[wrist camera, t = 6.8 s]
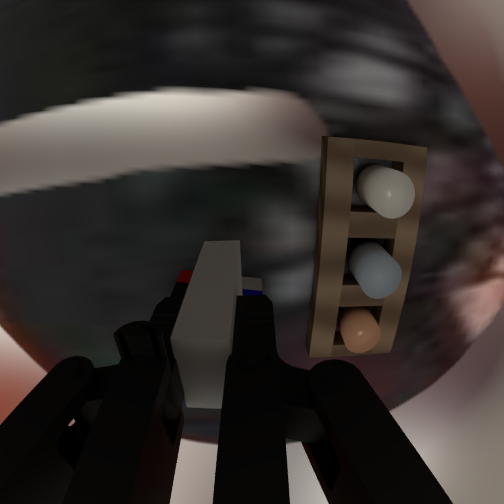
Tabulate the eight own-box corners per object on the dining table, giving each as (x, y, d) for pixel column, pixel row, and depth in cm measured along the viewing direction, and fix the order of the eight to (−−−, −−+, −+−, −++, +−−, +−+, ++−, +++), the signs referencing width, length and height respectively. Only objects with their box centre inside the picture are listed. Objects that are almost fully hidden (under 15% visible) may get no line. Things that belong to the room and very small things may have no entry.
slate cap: (351, 241, 36) (364, 257, 32) (388, 241, 36) (405, 257, 32) (346, 278, 38) (357, 299, 33) (382, 278, 38) (397, 298, 33)
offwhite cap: (357, 162, 33) (373, 168, 28) (397, 166, 33) (417, 173, 28) (354, 205, 35) (369, 217, 30) (392, 207, 35) (411, 219, 30)
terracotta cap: (338, 301, 41) (348, 322, 37) (372, 300, 41) (384, 320, 37) (334, 331, 43) (341, 354, 38) (366, 330, 43) (376, 351, 38)
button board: (321, 136, 34) (327, 136, 32) (415, 145, 34) (427, 147, 32) (305, 344, 45) (308, 357, 42) (383, 340, 45) (390, 352, 42)
